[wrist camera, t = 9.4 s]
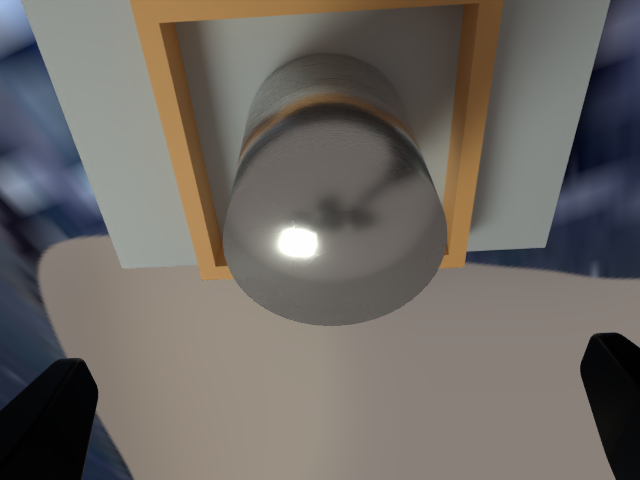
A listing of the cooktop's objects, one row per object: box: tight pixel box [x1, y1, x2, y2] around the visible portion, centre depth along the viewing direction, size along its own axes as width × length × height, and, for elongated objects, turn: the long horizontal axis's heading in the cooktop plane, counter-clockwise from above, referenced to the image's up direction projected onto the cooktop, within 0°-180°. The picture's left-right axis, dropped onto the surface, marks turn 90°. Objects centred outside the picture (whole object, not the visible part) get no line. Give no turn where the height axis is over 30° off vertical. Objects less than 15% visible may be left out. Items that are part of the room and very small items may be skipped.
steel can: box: [223, 53, 447, 326], centre depth 14 cm, size 5×5×6 cm
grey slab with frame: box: [21, 0, 610, 280], centre depth 17 cm, size 16×10×4 cm, turn 93°
